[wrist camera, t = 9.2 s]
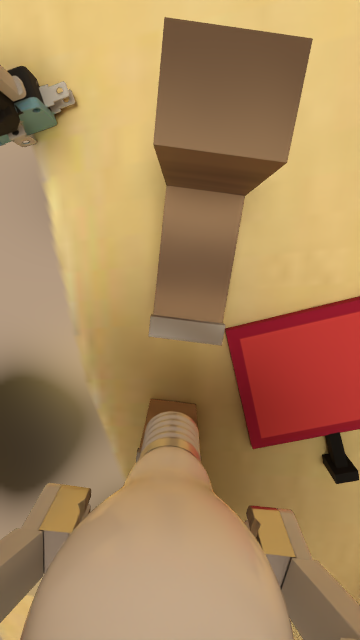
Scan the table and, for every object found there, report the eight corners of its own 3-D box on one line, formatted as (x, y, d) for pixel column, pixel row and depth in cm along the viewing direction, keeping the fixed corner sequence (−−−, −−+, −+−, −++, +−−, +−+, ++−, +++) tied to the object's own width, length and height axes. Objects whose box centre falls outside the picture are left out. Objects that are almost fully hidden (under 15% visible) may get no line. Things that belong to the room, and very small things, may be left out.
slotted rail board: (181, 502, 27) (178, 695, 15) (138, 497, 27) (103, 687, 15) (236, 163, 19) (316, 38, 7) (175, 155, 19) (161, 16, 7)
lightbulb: (146, 489, 16) (67, 1018, 5) (88, 400, 14) (-206, 895, 3) (251, 450, 15) (425, 987, 4) (203, 350, 13) (280, 800, 3)
